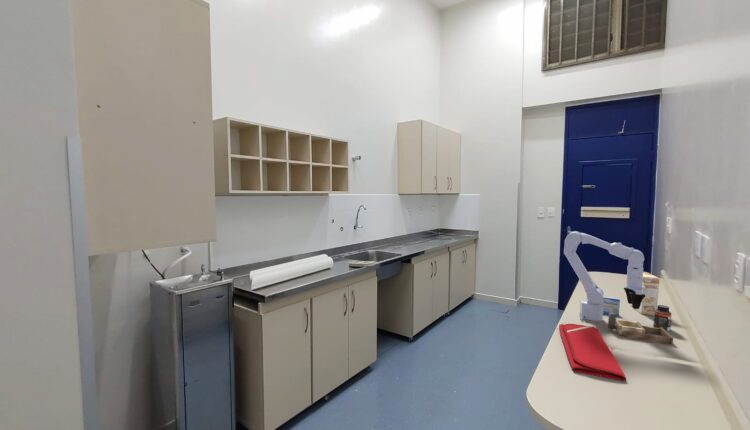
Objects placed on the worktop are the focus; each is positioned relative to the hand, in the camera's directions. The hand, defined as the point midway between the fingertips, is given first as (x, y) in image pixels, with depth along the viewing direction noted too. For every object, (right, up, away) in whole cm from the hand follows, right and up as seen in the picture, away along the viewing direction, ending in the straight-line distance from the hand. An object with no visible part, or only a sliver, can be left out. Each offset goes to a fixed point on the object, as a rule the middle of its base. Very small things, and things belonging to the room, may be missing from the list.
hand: (633, 306), depth 155 cm
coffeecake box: (+25, -9, +26) cm, 37 cm away
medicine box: (+2, -9, +20) cm, 22 cm away
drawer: (-9, -10, -7) cm, 15 cm away
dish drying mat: (-35, -12, -22) cm, 44 cm away
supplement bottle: (+12, -11, -1) cm, 16 cm away
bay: (-5, -11, -9) cm, 15 cm away
